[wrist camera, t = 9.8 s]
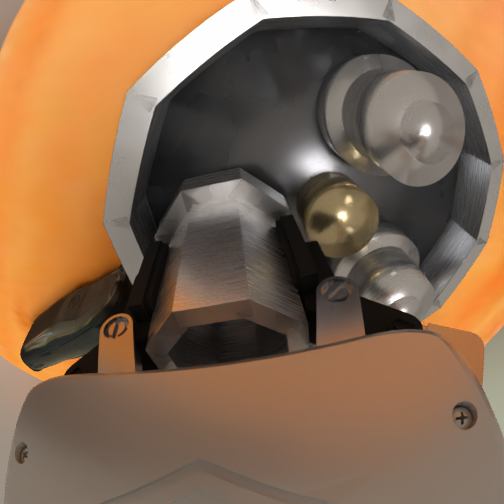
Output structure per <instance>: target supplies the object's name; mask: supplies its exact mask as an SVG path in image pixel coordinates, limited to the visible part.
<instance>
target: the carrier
mask: <svg viewBox="0 0 504 504" xmlns="http://www.w3.org/2000/svg"><path fill="white" fill-rule="evenodd" d="M464 138H465V119H464V114H463V109H462V106H461V104H460V101H459V99H458V97H457V95H456V94H455V92H454V91H453V89H452V88H451V87H450V86H449V85H448V84H447V83H446V82H445V81H444V80H443V79H441V78H440V77H438V76H436V75H434V74H431V73H428V72H423V71H421V70H420V69H418V68H417V67H416V66H415V65H413V64H412V63H411V62H409V61H408V60H406V59H405V58H404V57H402V56H401V55H399V54H398V53H396V52H395V51H394V50H392V49H391V48H389V47H388V46H386V45H384V44H383V43H381V42H380V41H378V40H377V39H375V38H373V37H372V36H370V35H368V34H367V33H365V32H363V31H362V30H360V29H358V28H341V27H310V28H289V29H276V30H266V31H257V32H254V33H252V34H251V35H249V36H248V37H246V38H245V39H244V40H242V41H241V42H239V43H238V44H237V45H235V46H234V47H233V48H231V49H230V50H229V51H227V52H226V53H225V54H224V55H222V56H221V57H220V58H218V59H217V60H216V61H215V62H213V63H212V64H211V65H210V66H208V67H207V68H206V69H205V70H204V71H202V72H201V73H200V74H199V75H198V76H197V77H195V78H194V79H193V80H192V81H191V82H190V83H189V84H187V85H186V86H185V87H184V88H183V89H182V90H181V91H180V92H179V93H177V94H176V95H175V96H174V97H173V98H172V99H171V100H170V102H169V106H168V109H167V112H166V115H165V119H164V122H163V126H162V129H161V133H160V136H159V140H158V144H157V148H156V152H155V155H154V159H153V164H152V168H151V172H150V176H149V181H148V185H147V190H146V194H145V195H146V198H147V201H148V204H149V207H150V210H151V212H152V215H153V218H154V221H155V223H156V226H157V228H158V226H159V223H160V221H161V219H162V217H163V215H164V214H165V212H166V210H167V208H168V207H169V205H170V203H171V202H172V200H173V198H174V197H175V195H176V193H177V192H178V190H179V188H180V187H181V185H182V183H183V182H184V180H185V179H188V178H192V177H197V176H201V175H206V174H210V173H215V172H220V171H224V170H229V169H234V168H241V169H243V170H244V171H246V172H247V173H249V174H251V175H252V176H254V177H255V178H257V179H258V180H260V181H262V182H263V183H265V184H266V185H268V186H269V187H271V188H272V189H274V190H275V191H277V192H278V193H280V194H282V195H283V196H284V198H285V200H286V203H287V205H288V207H289V209H290V214H293V216H294V219H295V221H296V223H297V225H298V227H299V230H300V232H301V234H302V236H303V239H304V241H305V242H310V241H318V243H319V245H320V247H321V249H322V251H323V253H324V255H325V257H326V259H327V261H328V263H329V265H330V267H331V269H332V271H333V273H334V276H343V277H346V278H349V279H351V280H352V281H354V282H355V283H356V285H357V287H358V290H359V296H361V297H364V298H367V299H370V300H372V301H375V302H378V303H381V304H384V305H386V306H389V307H392V308H395V309H398V310H401V311H403V312H406V313H409V314H411V315H413V316H415V317H416V318H417V319H418V320H419V321H421V320H422V319H423V318H424V317H425V315H426V314H427V313H428V311H429V310H430V308H431V306H432V303H433V300H434V288H433V286H432V285H431V283H430V282H429V281H428V279H427V278H426V277H425V275H424V274H423V273H422V271H421V270H420V269H419V267H420V266H421V264H422V263H423V261H424V260H425V258H426V257H427V255H428V254H429V252H430V251H431V249H432V248H433V246H434V245H435V243H436V242H437V240H438V238H439V237H440V235H441V233H442V232H443V230H444V229H445V227H446V225H447V224H448V222H449V220H450V218H451V214H452V208H453V202H454V196H455V189H456V181H457V172H458V162H459V156H460V153H461V150H462V147H463V143H464Z"/></svg>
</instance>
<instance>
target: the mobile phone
mask: <svg viewBox="0 0 504 504" xmlns="http://www.w3.org/2000/svg"><path fill="white" fill-rule="evenodd" d="M132 286H133V285H132V284H131V283H130V281H129V277H128V275H127V273H126V271H125V269H124V267H123V265H122V266H120V267H119V268H118V269H116V270H114V271H113V272H112V273H110V274H109V275H107V276H106V277H104V278H102V279H100V280H99V281H97V282H95V283H93V284H91V285H88V286H85V287H81V288H79V289H77V290H75V291H74V292H72V293H71V294H70V295H68V296H67V297H66V298H64V299H63V300H62V301H60V302H58V303H56V304H55V305H53V306H52V307H51V308H50V309H49V310H47V311H46V312H44V313H43V314H42V315H40V316H39V317H38V318H37V319H36V320H35V321H34V323H33V325H32V327H31V329H30V331H29V333H28V335H27V337H26V339H25V341H24V343H23V346H22V348H21V353H20V354H21V358H22V360H23V362H24V363H25V364H26V365H27V366H28V367H29V368H31V369H32V370H33V371H41V370H42V369H44V368H46V367H49V366H52V365H55V364H57V363H60V362H62V361H65V360H68V359H74V358H79V357H83V356H84V355H85V354H87V353H88V352H89V351H90V350H92V349H93V348H94V347H95V346H97V345H98V344H99V338H100V330H101V327H102V325H103V324H104V323H105V321H106V320H107V319H109V318H110V317H112V316H114V315H116V314H121V313H122V314H124V311H125V307H126V304H127V301H128V298H129V295H130V292H131V289H132Z"/></svg>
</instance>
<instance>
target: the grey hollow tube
mask: <svg viewBox="0 0 504 504" xmlns="http://www.w3.org/2000/svg"><path fill="white" fill-rule="evenodd" d="M285 215H290V209H289V207H288V205H287V203H286V200H285V198H284V196H283V195H282V194H280V193H278V192H277V191H275V190H274V189H272V188H271V187H269V186H268V185H266V184H265V183H263V182H262V181H260V180H258V179H257V178H255V177H254V176H252V175H251V174H249V173H247V172H246V171H244V170H243V169H241V168H234V169H229V170H224V171H220V172H215V173H210V174H206V175H201V176H197V177H192V178H188V179H185V180H184V182H183V183H182V185H181V187H180V188H179V190H178V192H177V193H176V195H175V197H174V198H173V200H172V202H171V203H170V205H169V207H168V208H167V210H166V212H165V214H164V215H163V217H162V219H161V221H160V223H159V226H158V228H157V231H156V234H155V236H154V237H155V240H156V241H159V240H162V241H163V242H164V243H166V242H167V243H168V245H169V250H168V254H167V258H166V262H165V266H164V270H163V274H162V278H161V282H160V287H159V291H158V295H157V300H156V304H155V309H154V313H153V315H152V319H151V324H150V329H149V334H148V339H147V344H146V352H147V353H148V354H149V356H150V357H151V359H152V360H153V361H154V363H155V364H156V366H157V367H158V368H159V370H161V369H173V368H183V367H193V366H202V365H210V364H218V363H225V362H232V361H239V360H245V359H252V358H258V357H264V356H270V355H275V354H281V353H286V352H291V351H296V350H301V349H306V348H309V327H308V322H307V319H306V315H305V312H304V309H303V306H302V302H301V299H300V296H299V293H298V289H296V288H295V286H294V283H293V280H292V276H291V273H290V270H289V267H288V263H287V260H286V257H285V254H284V251H283V247H282V244H281V241H280V238H279V235H278V232H277V229H276V224H275V221H276V220H280V218H279V217H280V216H285Z"/></svg>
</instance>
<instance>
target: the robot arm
mask: <svg viewBox="0 0 504 504" xmlns="http://www.w3.org/2000/svg"><path fill="white" fill-rule="evenodd" d="M279 218H280V220H276V221H275V224H276V229H277V232H278V235H279V238H280V241H281V244H282V247H283V251H284V254H285V257H286V260H287V263H288V267H289V270H290V273H291V276H292V280H293V283H294V286H295V288H296V289H298V293H299V296H300V299H301V302H302V306H303V309H304V312H305V315H306V319H307V322H308V327H309V342H310V343H313V344H315V345H316V346H315V347H311V348H306V349H301V350H296V351H291V352H286V353H281V354H275V355H270V356H264V357H258V358H252V359H245V360H239V361H232V362H225V363H218V364H210V365H202V366H193V367H183V368H173V369H161V370H159V368H158V367H157V366H156V364H155V363H154V361H153V360H152V359H151V357H150V356H149V354H148V353H147V352H146V344H147V339H148V334H149V329H150V324H151V319H152V315H153V313H154V309H155V304H156V300H157V295H158V291H159V287H160V282H161V278H162V274H163V270H164V266H165V262H166V258H167V254H168V250H169V245H168V243H167V242H166V243H164V242H163V241H162V240H159V241H155V242H150V243H149V244H148V247H147V250H146V253H145V255H144V258H143V261H142V264H141V267H140V269H139V272H138V275H136V277H135V280H134V283H133V286H132V289H131V292H130V295H129V298H128V301H127V304H126V307H125V311H124V314H122V313H121V314H116V315H114V316H112V317H110V318H109V319H107V320H106V321H105V323H104V324H103V325H102V327H101V330H100V338H99V344H98V345H97V346H95V347H94V348H93V349H92V350H90V351H89V352H88V353H87V354H85V355H84V356H83V357H82V358H81V359H79V360H78V361H77V362H76V363H74V364H73V365H72V366H71V367H70V368H69V369H68V370H67V371H66V373H65V375H63V376H58V377H54V378H50V379H48V380H46V381H43V382H41V383H39V384H38V385H36V386H35V387H33V388H32V389H31V390H30V392H29V393H28V395H27V397H26V399H25V402H24V404H23V406H22V409H21V412H20V415H19V418H18V421H17V424H16V428H15V432H14V436H13V440H12V445H11V450H10V456H9V461H8V468H7V475H6V483H5V498H4V504H504V437H503V435H502V432H501V430H500V427H499V424H498V422H497V420H496V417H495V415H494V412H493V410H492V408H491V405H490V403H489V401H488V399H487V397H486V394H485V392H484V390H483V388H482V381H483V369H484V343H483V341H482V340H481V338H480V337H479V336H478V335H477V334H474V333H472V332H468V331H463V330H458V329H454V328H449V327H444V326H440V325H435V324H431V323H428V326H425V325H422V324H421V322H420V321H419V320H418V319H417V318H416V317H415V316H413V315H411V314H409V313H406V312H403V311H401V310H398V309H395V308H392V307H389V306H386V305H384V304H381V303H378V302H375V301H372V300H370V299H367V298H364V297H361V296H359V290H358V287H357V285H356V283H355V282H354V281H352V280H351V279H349V278H346V277H343V276H334V273H333V271H332V269H331V267H330V265H329V263H328V261H327V259H326V257H325V255H324V253H323V251H322V249H321V247H320V245H319V243H318V241H310V242H305V241H304V239H303V236H302V234H301V232H300V230H299V227H298V225H297V223H296V221H295V219H294V216H293V214H290V215H285V216H280V217H279Z"/></svg>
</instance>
